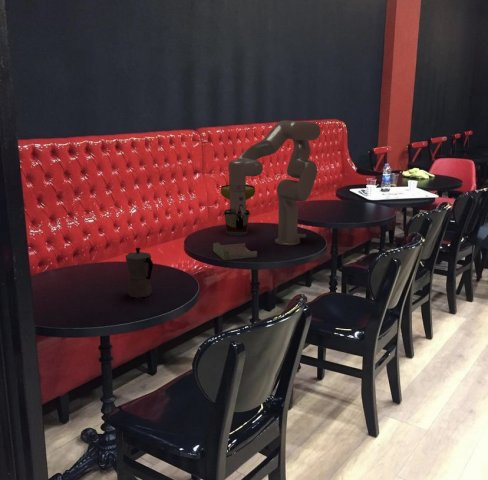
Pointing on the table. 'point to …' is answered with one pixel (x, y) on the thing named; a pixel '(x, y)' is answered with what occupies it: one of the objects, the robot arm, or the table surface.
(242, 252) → the chute mount
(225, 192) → the cocktail glass
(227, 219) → the food container
